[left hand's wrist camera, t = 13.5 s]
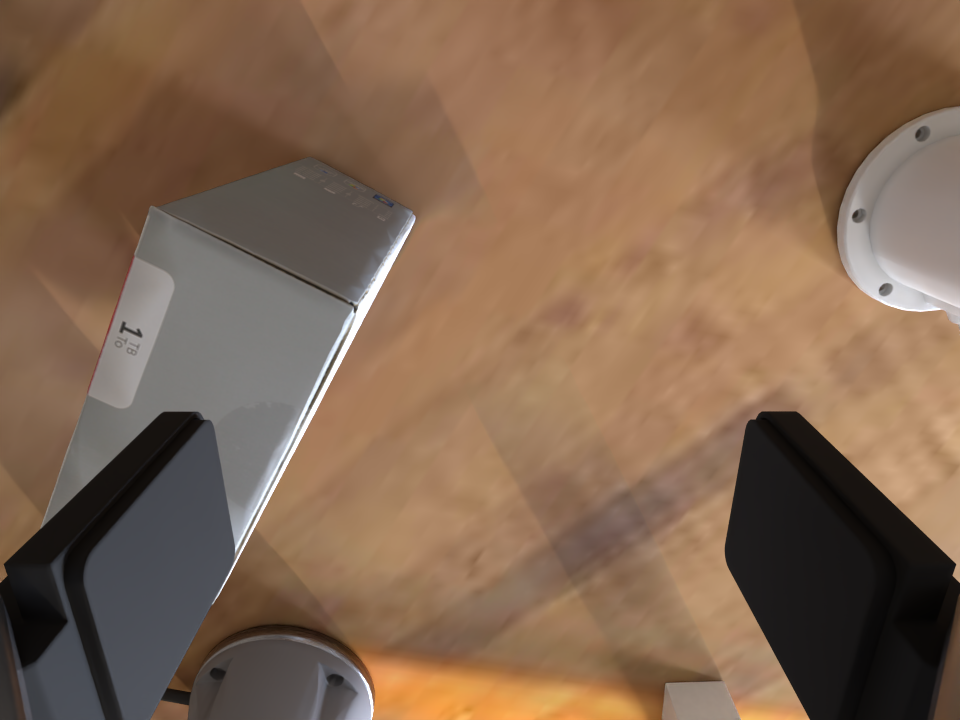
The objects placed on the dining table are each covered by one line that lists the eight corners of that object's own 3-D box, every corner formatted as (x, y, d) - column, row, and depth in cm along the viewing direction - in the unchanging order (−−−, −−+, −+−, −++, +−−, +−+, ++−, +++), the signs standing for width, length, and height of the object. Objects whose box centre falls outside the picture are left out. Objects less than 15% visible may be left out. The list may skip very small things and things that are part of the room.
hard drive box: (306, 151, 38) (152, 193, 20) (419, 212, 40) (372, 304, 21) (217, 359, 43) (27, 547, 25) (320, 407, 45) (213, 618, 26)
